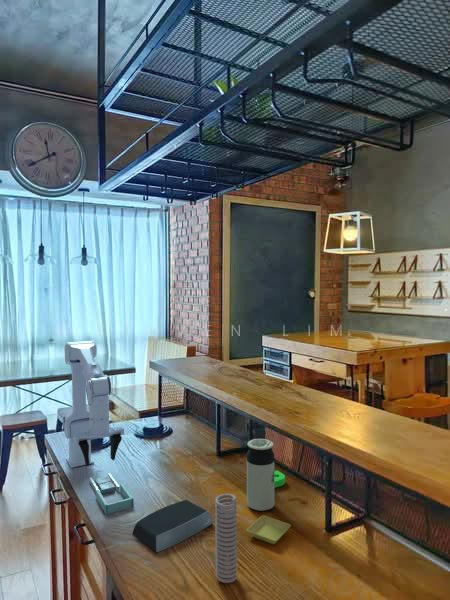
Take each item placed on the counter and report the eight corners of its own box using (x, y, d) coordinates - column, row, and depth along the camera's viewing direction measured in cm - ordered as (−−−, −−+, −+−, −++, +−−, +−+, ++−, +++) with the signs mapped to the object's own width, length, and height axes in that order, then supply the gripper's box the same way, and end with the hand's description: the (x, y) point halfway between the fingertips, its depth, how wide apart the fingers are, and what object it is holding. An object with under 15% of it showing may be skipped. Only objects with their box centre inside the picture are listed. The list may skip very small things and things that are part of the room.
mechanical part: (258, 493, 133) (258, 467, 132) (247, 485, 138) (247, 460, 138) (288, 483, 139) (288, 458, 139) (277, 476, 144) (276, 452, 144)
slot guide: (89, 482, 140) (89, 477, 140) (109, 477, 143) (109, 472, 143) (98, 496, 131) (98, 491, 131) (119, 491, 134) (119, 486, 134)
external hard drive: (215, 525, 116) (215, 511, 116) (158, 555, 103) (158, 539, 103) (186, 508, 125) (185, 495, 124) (130, 534, 112) (130, 519, 112)
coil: (213, 583, 93) (213, 501, 92) (217, 569, 97) (217, 490, 97) (235, 585, 92) (235, 502, 91) (238, 571, 97) (237, 492, 96)
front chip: (98, 490, 135) (98, 484, 135) (111, 487, 137) (111, 481, 137) (102, 496, 132) (101, 489, 132) (115, 492, 134) (114, 486, 134)
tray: (96, 498, 130) (96, 490, 130) (122, 491, 134) (122, 483, 134) (105, 514, 121) (105, 505, 120) (133, 506, 125) (133, 498, 125)
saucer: (275, 549, 105) (275, 541, 105) (245, 537, 110) (245, 529, 110) (291, 532, 112) (291, 524, 112) (262, 522, 117) (262, 514, 117)
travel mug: (242, 507, 124) (242, 445, 123) (253, 495, 131) (253, 436, 130) (268, 514, 120) (268, 450, 120) (278, 501, 127) (278, 441, 127)
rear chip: (95, 484, 139) (94, 478, 139) (107, 481, 141) (107, 475, 141) (98, 490, 136) (98, 483, 136) (110, 486, 138) (110, 480, 138)
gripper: (77, 425, 123) (78, 472, 123) (126, 416, 130) (127, 461, 131) (72, 418, 129) (73, 463, 130) (120, 410, 136) (120, 453, 137)
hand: (100, 461), depth 131 cm, fingers open, 7 cm apart
